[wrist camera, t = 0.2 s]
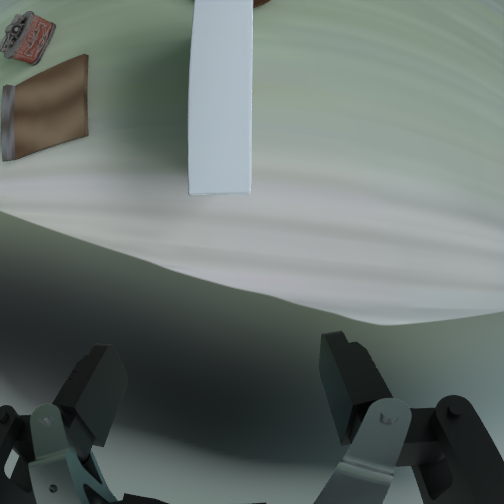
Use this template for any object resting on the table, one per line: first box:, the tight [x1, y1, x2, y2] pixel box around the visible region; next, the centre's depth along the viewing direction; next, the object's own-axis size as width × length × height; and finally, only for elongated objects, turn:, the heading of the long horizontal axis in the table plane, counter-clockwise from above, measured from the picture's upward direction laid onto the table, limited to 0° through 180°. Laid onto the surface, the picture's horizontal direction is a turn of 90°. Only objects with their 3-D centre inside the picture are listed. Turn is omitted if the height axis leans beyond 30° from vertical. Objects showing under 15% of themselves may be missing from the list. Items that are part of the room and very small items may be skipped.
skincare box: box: [188, 0, 253, 196], centre depth 25 cm, size 21×5×16 cm, turn 179°
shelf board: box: [1, 54, 88, 162], centre depth 29 cm, size 13×17×4 cm
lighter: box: [0, 11, 56, 66], centre depth 22 cm, size 8×3×10 cm, turn 157°
